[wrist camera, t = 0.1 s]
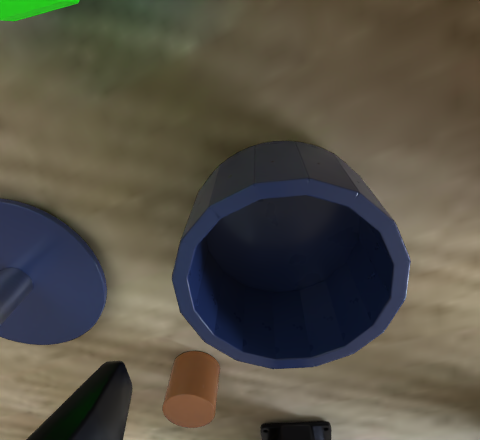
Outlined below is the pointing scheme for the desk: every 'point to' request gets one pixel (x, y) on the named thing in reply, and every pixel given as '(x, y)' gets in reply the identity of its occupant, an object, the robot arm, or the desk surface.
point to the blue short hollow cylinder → (289, 259)
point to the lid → (46, 278)
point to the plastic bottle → (30, 8)
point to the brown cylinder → (192, 390)
